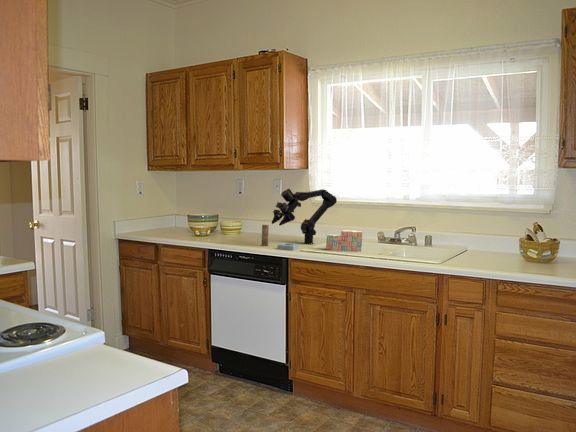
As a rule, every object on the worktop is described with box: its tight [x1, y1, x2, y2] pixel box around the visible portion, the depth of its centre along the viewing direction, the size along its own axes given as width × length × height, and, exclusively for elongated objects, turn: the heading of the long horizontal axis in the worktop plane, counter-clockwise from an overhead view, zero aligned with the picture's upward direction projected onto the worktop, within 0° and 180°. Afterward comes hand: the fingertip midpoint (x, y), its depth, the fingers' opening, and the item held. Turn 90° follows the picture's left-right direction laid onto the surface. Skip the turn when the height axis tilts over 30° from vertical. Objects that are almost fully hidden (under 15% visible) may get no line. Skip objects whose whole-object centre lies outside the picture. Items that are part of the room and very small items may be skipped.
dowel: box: [260, 224, 269, 247], centre depth 325 cm, size 4×4×13 cm
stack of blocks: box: [325, 229, 363, 253], centre depth 321 cm, size 21×6×12 cm, turn 89°
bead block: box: [277, 242, 300, 251], centre depth 317 cm, size 10×10×2 cm
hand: (275, 224), depth 329 cm, fingers open, 9 cm apart
